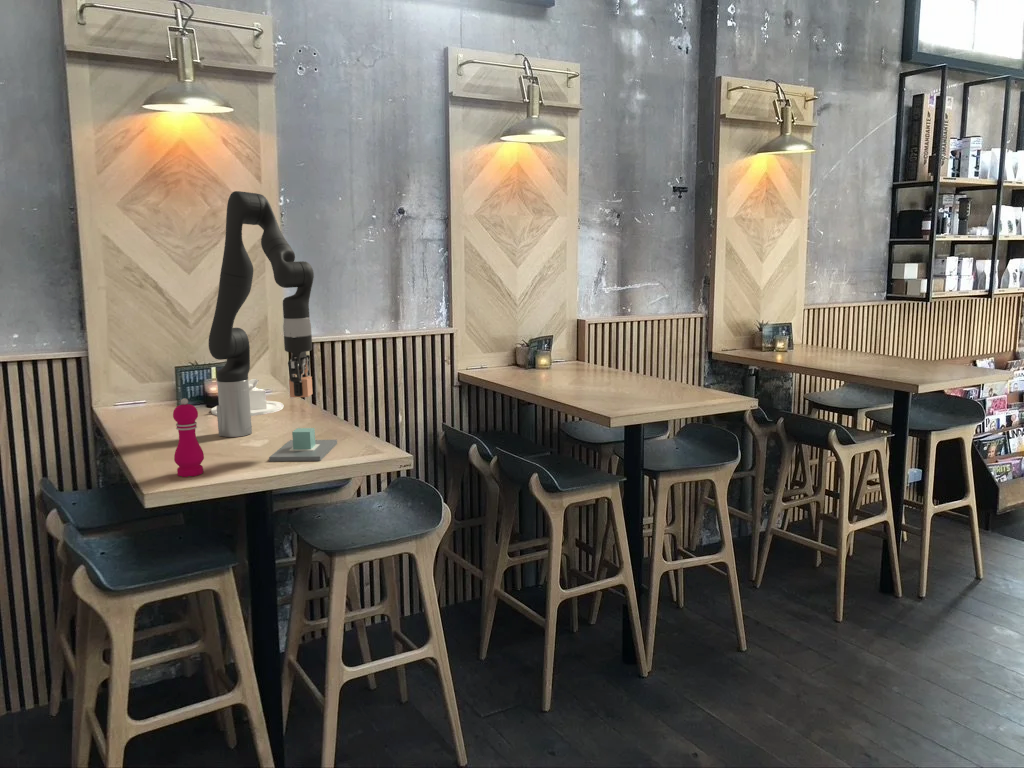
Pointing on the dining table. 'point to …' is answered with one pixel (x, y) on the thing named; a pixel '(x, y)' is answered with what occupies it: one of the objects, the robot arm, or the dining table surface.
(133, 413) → the dining table surface
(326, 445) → the plate
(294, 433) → the teal cube
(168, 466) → the dining table surface
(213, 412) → the dish
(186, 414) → the pepper mill
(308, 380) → the orange cube
